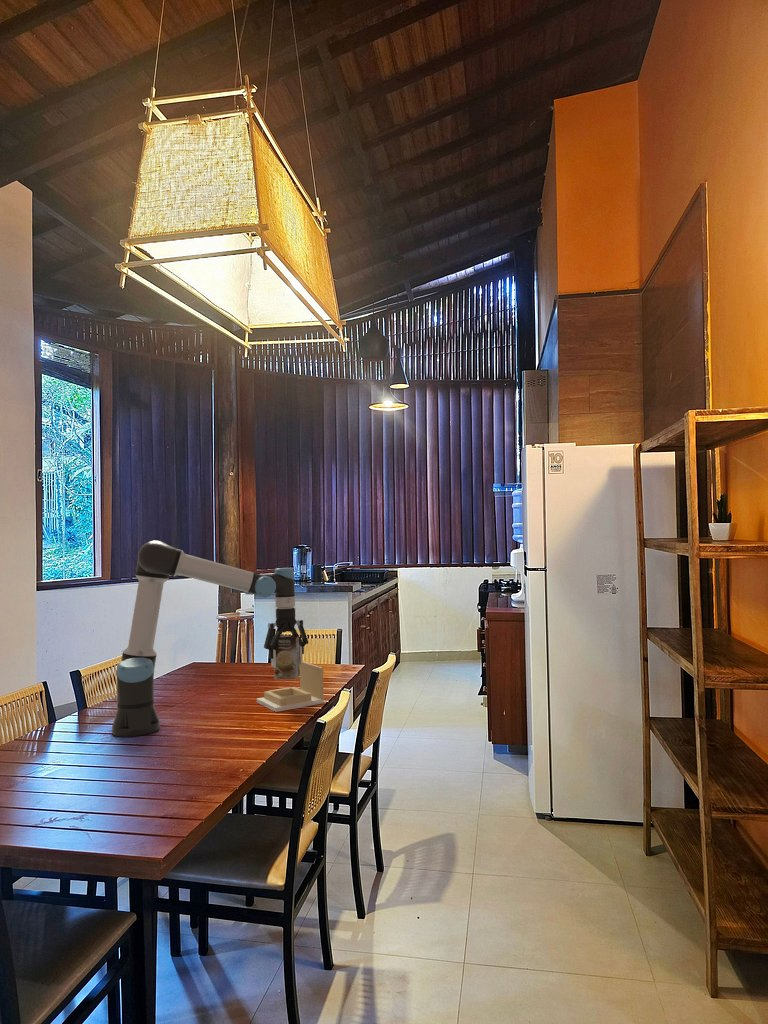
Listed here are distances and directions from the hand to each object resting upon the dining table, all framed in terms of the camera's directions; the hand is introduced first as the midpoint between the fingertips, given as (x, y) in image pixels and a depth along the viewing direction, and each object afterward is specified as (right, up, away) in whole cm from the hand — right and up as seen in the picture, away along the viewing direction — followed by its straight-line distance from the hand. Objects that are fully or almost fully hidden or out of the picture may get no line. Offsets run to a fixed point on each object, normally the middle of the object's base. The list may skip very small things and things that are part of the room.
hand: (286, 665), depth 251 cm
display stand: (0, -15, -1) cm, 15 cm away
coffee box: (0, -5, 0) cm, 5 cm away
